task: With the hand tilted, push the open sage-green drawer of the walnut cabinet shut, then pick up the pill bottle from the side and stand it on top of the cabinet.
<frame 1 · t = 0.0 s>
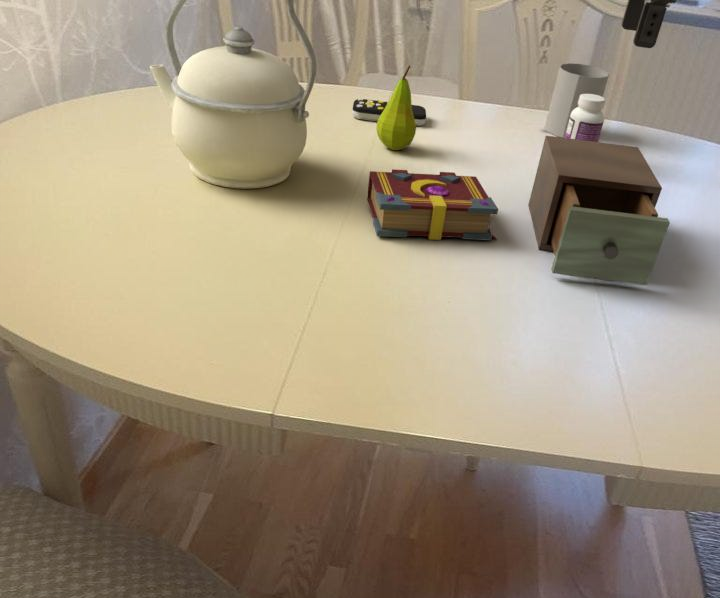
hand: (636, 37, 83), 24 cm above the table, tool pointing down, fingers open, 8 cm apart
decorative book: (430, 223, 100), on the table
remote control: (388, 119, 131), on the table
kettle: (230, 169, 108), on the table
cup: (567, 132, 136), on the table
fruit: (393, 149, 120), on the table
drawer: (601, 226, 93), point 5 cm above the table, slide at 7.0 cm
pill bottle: (575, 161, 125), on the table
cabinet: (578, 232, 103), on the table
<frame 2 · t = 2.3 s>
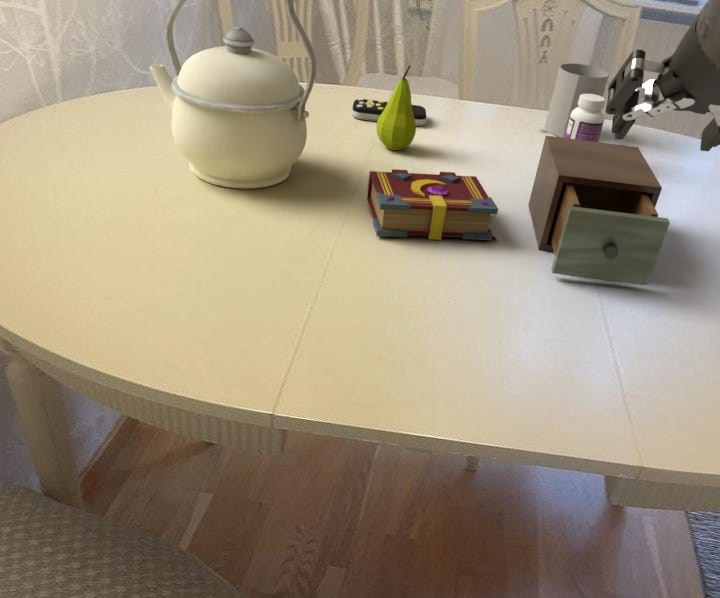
hand: (661, 136, 74), 19 cm above the table, tool tilted 45°, fingers open, 8 cm apart
nothing on the table moved.
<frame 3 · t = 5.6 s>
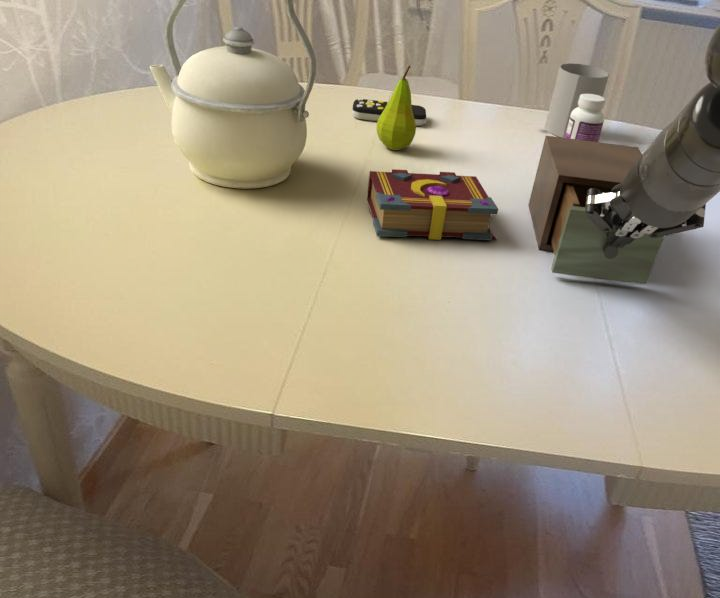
hand: (615, 239, 87), 6 cm above the table, tool tilted 45°, fingers closed
drawer: (600, 226, 93), point 5 cm above the table, slide at 6.8 cm, touching gripper
everything else where it was.
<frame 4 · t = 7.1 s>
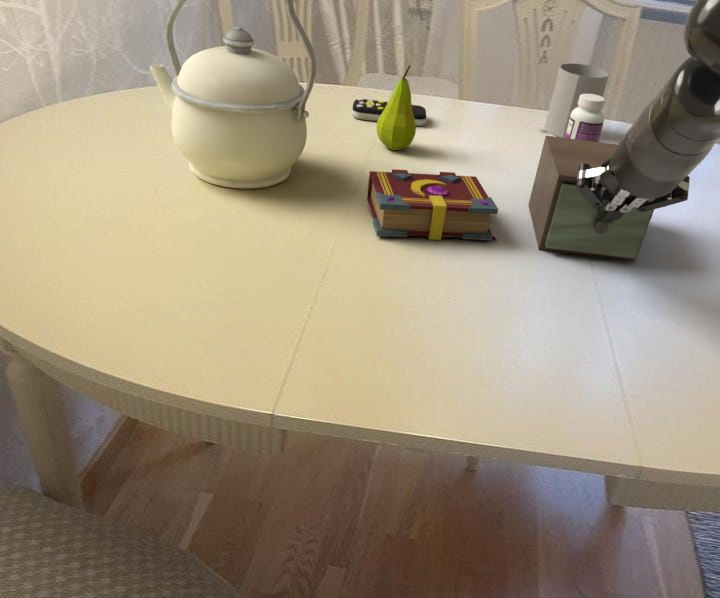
hand: (605, 215, 92), 6 cm above the table, tool tilted 45°, fingers closed
drawer: (592, 204, 98), point 5 cm above the table, slide at 0.0 cm, touching cabinet, gripper
everything else where it was.
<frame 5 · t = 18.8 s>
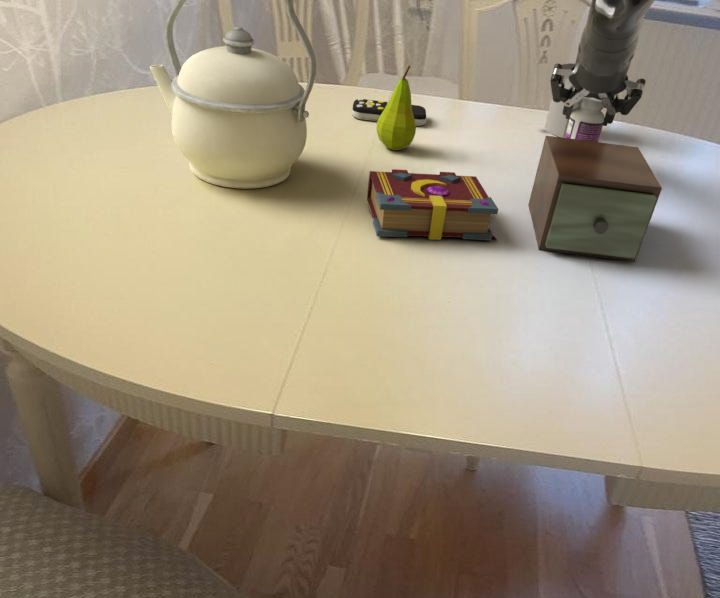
hand: (587, 117, 122), 6 cm above the table, tool tilted 45°, fingers closed on pill bottle, 5 cm apart
drawer: (592, 204, 98), point 5 cm above the table, slide at 0.0 cm
pill bottle: (575, 161, 125), on the table, touching gripper
everything else where it was.
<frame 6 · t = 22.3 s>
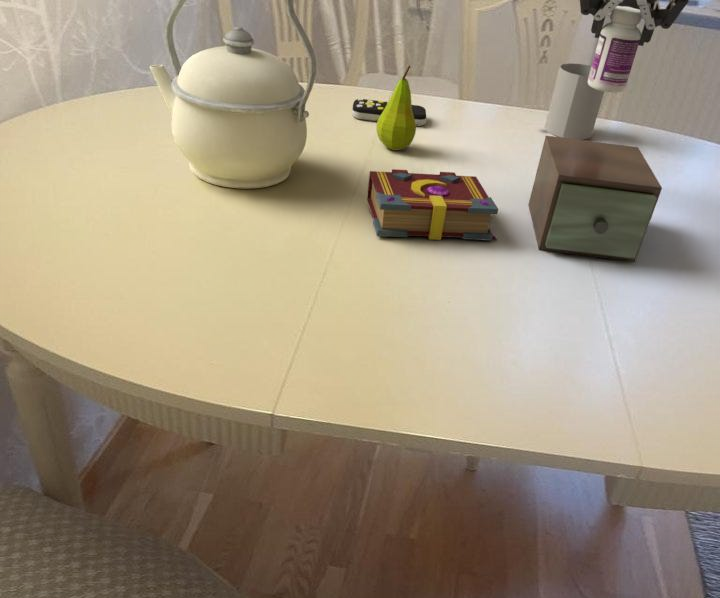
hand: (620, 35, 103), 20 cm above the table, tool tilted 45°, fingers closed on pill bottle, 5 cm apart
pill bottle: (604, 89, 106), point 14 cm above the table, touching gripper
everything else where it was.
when the fingers open (16 cm above the table, at t = 26.3 s): pill bottle stays where it is, resting on cabinet.
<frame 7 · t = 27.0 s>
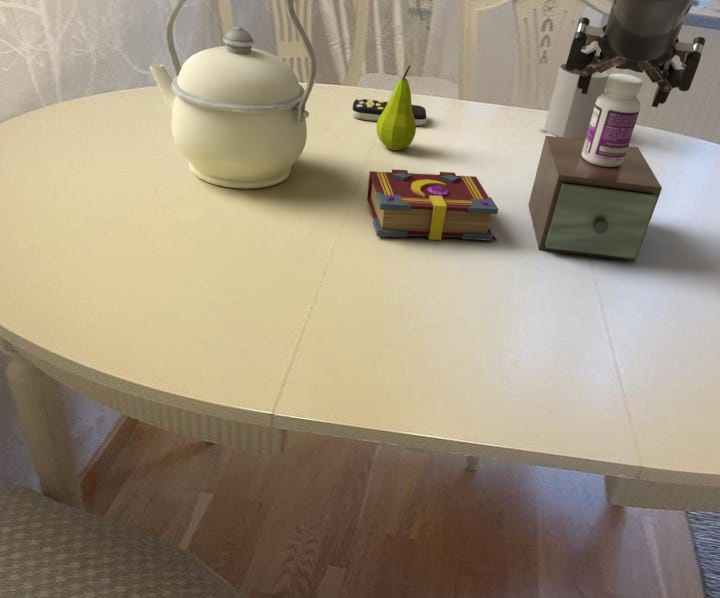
hand: (620, 93, 92), 17 cm above the table, tool tilted 45°, fingers open, 8 cm apart
pill bottle: (600, 162, 96), point 9 cm above the table, touching cabinet
everything else where it was.
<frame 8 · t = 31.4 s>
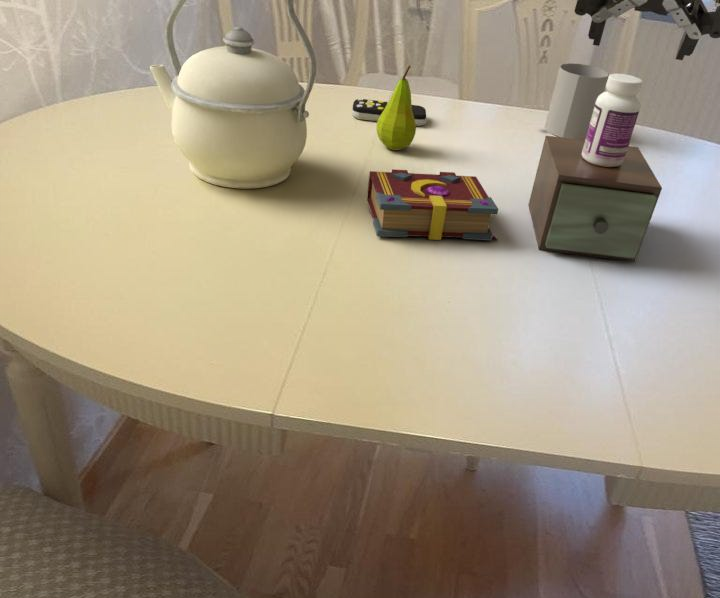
hand: (638, 44, 78), 25 cm above the table, tool tilted 45°, fingers open, 8 cm apart
nothing on the table moved.
at the end: drawer slide at 0.0 cm; pill bottle inside the target area on the cabinet (0.1 cm from its centre), point 9.4 cm above the cabinet's base; pill bottle tilted 0° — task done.
